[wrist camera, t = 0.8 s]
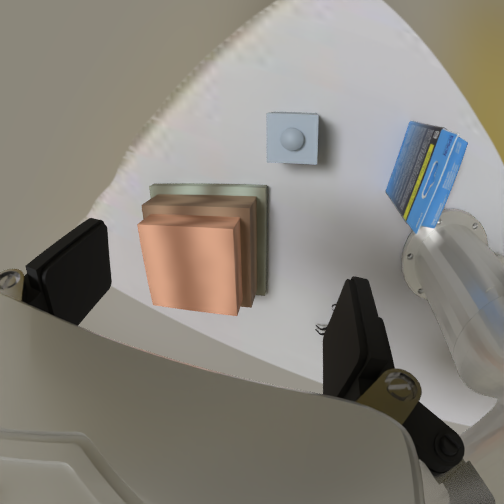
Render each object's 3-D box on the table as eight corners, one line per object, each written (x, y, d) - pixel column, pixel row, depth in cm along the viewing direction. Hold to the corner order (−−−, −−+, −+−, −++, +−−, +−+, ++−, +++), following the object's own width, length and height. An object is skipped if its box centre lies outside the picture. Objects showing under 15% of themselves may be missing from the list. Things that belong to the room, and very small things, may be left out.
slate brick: (316, 113, 30) (318, 115, 24) (315, 154, 32) (317, 166, 26) (274, 111, 30) (265, 113, 25) (274, 152, 32) (265, 163, 27)
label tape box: (411, 203, 32) (452, 251, 21) (381, 191, 32) (413, 235, 21) (437, 133, 28) (494, 152, 17) (406, 118, 28) (454, 129, 17)
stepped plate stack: (267, 185, 34) (254, 209, 27) (266, 290, 41) (255, 331, 33) (153, 183, 36) (118, 205, 29) (167, 280, 43) (142, 315, 36)
